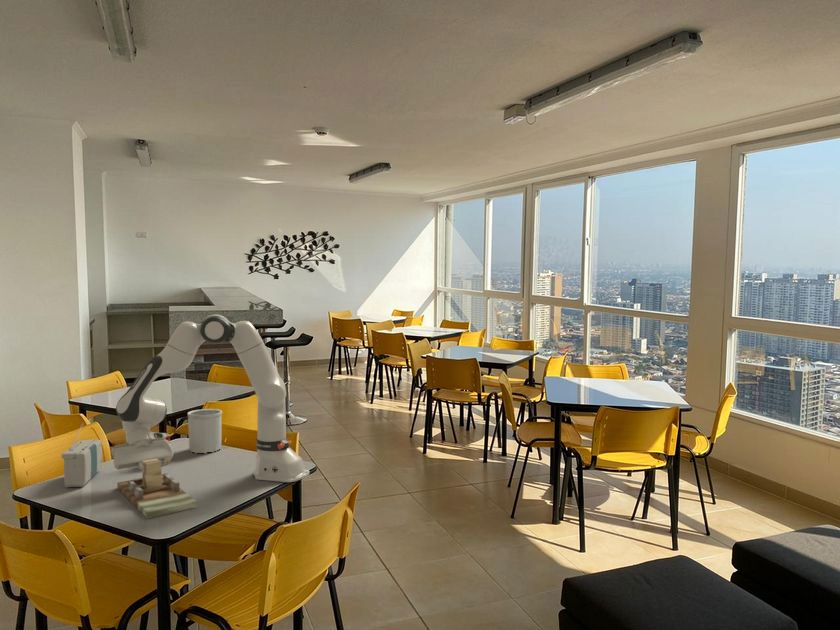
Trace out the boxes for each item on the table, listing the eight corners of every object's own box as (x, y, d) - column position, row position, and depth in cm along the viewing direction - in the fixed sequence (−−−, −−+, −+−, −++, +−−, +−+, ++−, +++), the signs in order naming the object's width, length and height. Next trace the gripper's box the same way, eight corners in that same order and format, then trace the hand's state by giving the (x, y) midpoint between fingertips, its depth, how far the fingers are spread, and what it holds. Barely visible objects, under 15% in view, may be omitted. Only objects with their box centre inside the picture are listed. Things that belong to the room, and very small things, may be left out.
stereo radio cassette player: (85, 488, 223) (84, 434, 222) (61, 489, 221) (59, 435, 220) (103, 470, 243) (102, 421, 242) (80, 471, 242) (80, 422, 241)
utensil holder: (184, 448, 277) (183, 410, 276) (216, 443, 285) (216, 407, 284) (192, 456, 265) (192, 416, 264) (226, 451, 273) (226, 412, 272)
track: (117, 487, 223) (117, 474, 223) (162, 479, 234) (162, 466, 234) (147, 518, 195) (147, 503, 195) (197, 507, 206) (196, 492, 205)
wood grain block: (137, 487, 218) (136, 460, 217) (160, 482, 223) (159, 456, 223) (143, 493, 212) (143, 466, 211) (167, 488, 217) (166, 461, 216)
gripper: (111, 441, 219) (119, 474, 212) (169, 433, 232) (178, 464, 225) (108, 451, 223) (115, 484, 216) (165, 442, 236) (174, 472, 229)
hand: (148, 473), depth 221 cm, fingers closed
